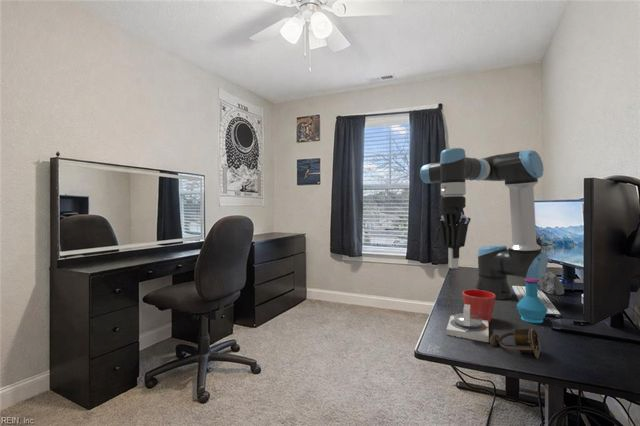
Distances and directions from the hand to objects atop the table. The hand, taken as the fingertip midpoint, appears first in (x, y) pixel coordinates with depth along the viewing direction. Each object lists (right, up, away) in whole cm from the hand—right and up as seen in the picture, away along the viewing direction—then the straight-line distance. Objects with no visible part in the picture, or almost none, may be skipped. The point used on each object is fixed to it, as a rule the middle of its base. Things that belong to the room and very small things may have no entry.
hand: (453, 267), depth 100 cm
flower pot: (+15, -22, +12) cm, 29 cm away
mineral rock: (+67, -20, +46) cm, 84 cm away
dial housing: (+6, -22, +2) cm, 22 cm away
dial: (+5, -19, 0) cm, 20 cm away
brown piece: (+13, -22, -11) cm, 28 cm away
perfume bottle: (+33, -21, +11) cm, 41 cm away
